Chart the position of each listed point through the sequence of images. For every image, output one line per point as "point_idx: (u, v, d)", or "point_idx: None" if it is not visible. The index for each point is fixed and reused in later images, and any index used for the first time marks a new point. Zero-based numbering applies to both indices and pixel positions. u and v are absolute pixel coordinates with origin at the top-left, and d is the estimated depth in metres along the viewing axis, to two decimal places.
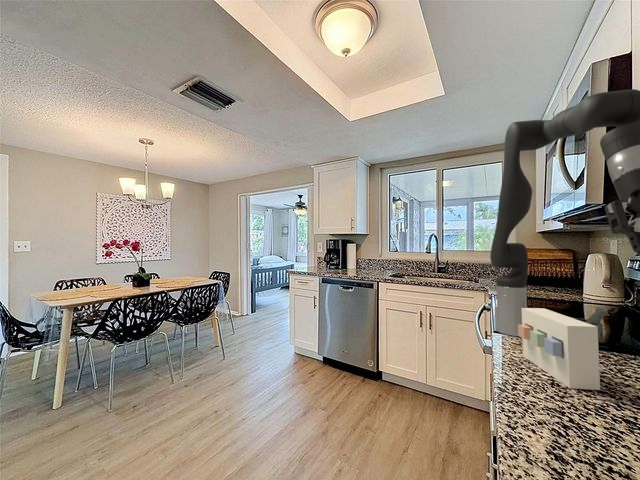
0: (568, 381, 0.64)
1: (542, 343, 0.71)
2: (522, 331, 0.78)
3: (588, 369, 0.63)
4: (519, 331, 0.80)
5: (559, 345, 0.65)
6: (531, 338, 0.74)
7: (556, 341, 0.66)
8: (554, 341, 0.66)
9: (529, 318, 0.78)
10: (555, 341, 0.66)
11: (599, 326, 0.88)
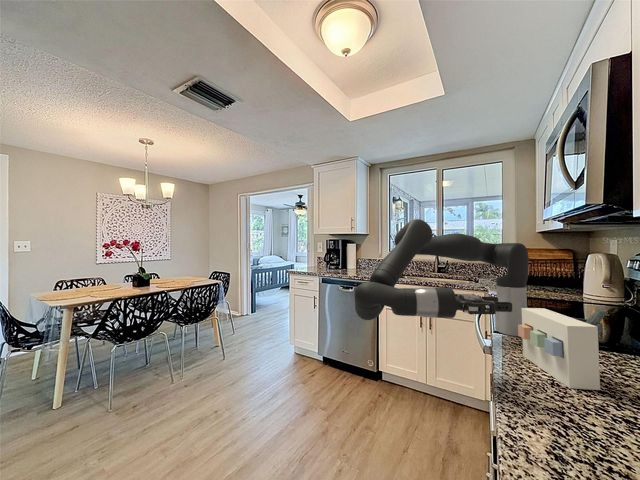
0: (568, 381, 0.64)
1: (542, 343, 0.71)
2: (522, 331, 0.78)
3: (588, 369, 0.63)
4: (519, 331, 0.80)
5: (559, 345, 0.65)
6: (531, 338, 0.74)
7: (556, 341, 0.66)
8: (554, 341, 0.66)
9: (529, 318, 0.78)
10: (555, 341, 0.66)
11: (599, 326, 0.88)
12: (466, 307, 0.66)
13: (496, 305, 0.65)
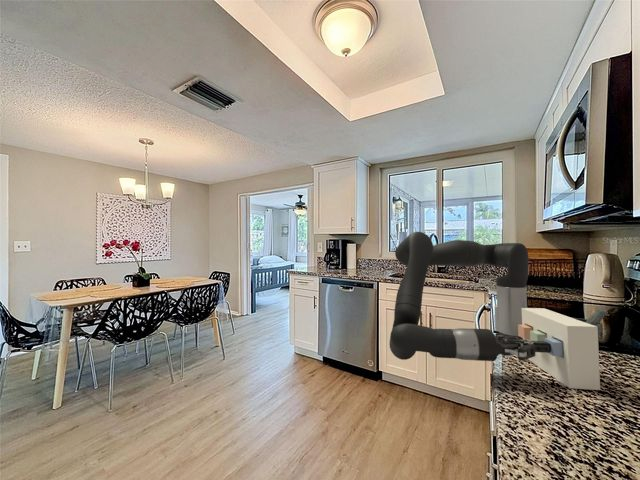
0: (568, 381, 0.64)
1: None
2: (522, 331, 0.78)
3: (588, 369, 0.63)
4: (519, 331, 0.80)
5: (559, 345, 0.65)
6: (531, 338, 0.74)
7: (556, 341, 0.66)
8: (554, 341, 0.66)
9: (529, 318, 0.78)
10: (555, 341, 0.66)
11: (599, 326, 0.88)
12: (513, 352, 0.64)
13: (535, 346, 0.66)
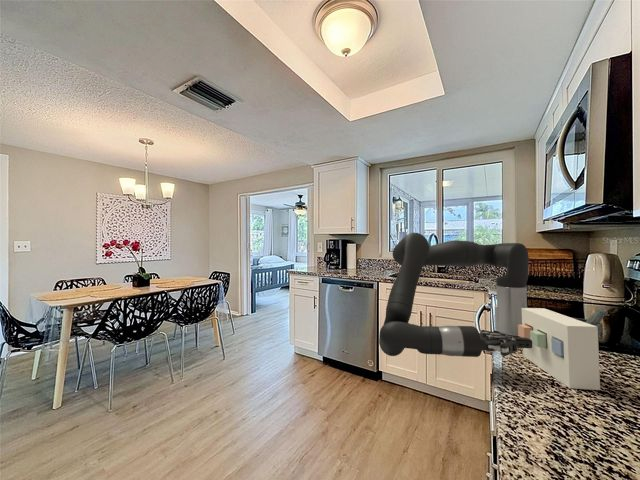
0: (568, 381, 0.64)
1: (542, 343, 0.71)
2: (522, 331, 0.78)
3: (588, 369, 0.63)
4: (519, 331, 0.80)
5: None
6: (531, 338, 0.74)
7: None
8: (561, 341, 0.66)
9: (529, 318, 0.78)
10: None
11: (599, 326, 0.88)
12: (496, 348, 0.67)
13: (517, 342, 0.69)
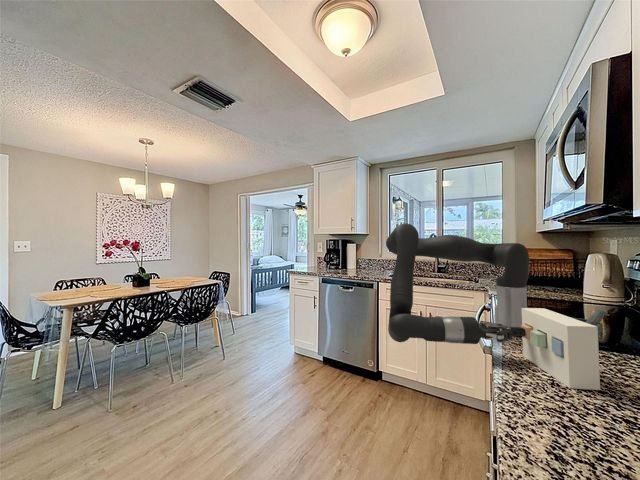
0: (568, 381, 0.64)
1: (542, 343, 0.71)
2: (525, 331, 0.78)
3: (588, 369, 0.63)
4: None
5: None
6: (531, 338, 0.74)
7: None
8: (561, 341, 0.66)
9: (529, 318, 0.78)
10: None
11: (599, 326, 0.88)
12: (493, 336, 0.76)
13: (512, 331, 0.78)
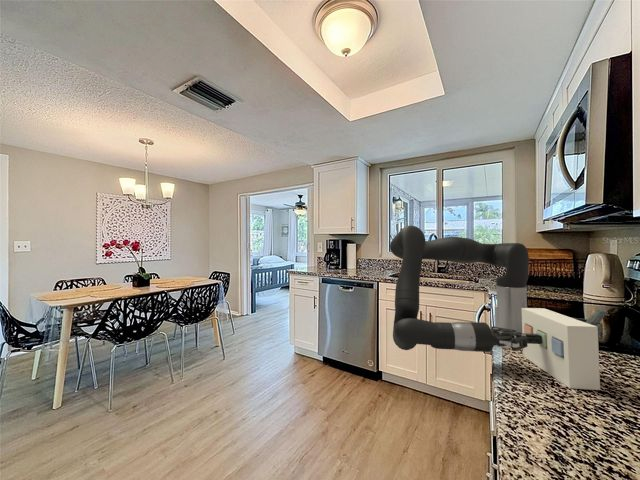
0: (568, 381, 0.64)
1: None
2: (528, 331, 0.78)
3: (588, 369, 0.63)
4: (525, 331, 0.80)
5: None
6: None
7: None
8: (561, 341, 0.66)
9: (529, 318, 0.78)
10: None
11: (599, 326, 0.88)
12: (507, 343, 0.70)
13: (527, 338, 0.72)
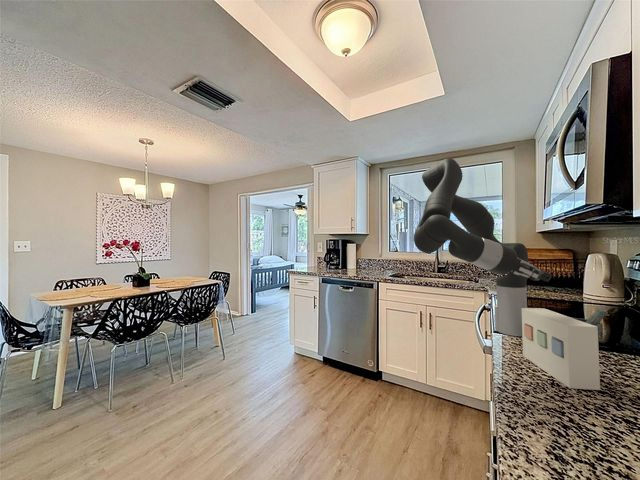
0: (568, 381, 0.64)
1: None
2: (528, 331, 0.78)
3: (588, 369, 0.63)
4: (525, 331, 0.80)
5: None
6: (538, 338, 0.74)
7: None
8: (561, 341, 0.66)
9: (529, 318, 0.78)
10: None
11: (599, 326, 0.88)
12: (527, 272, 0.69)
13: None
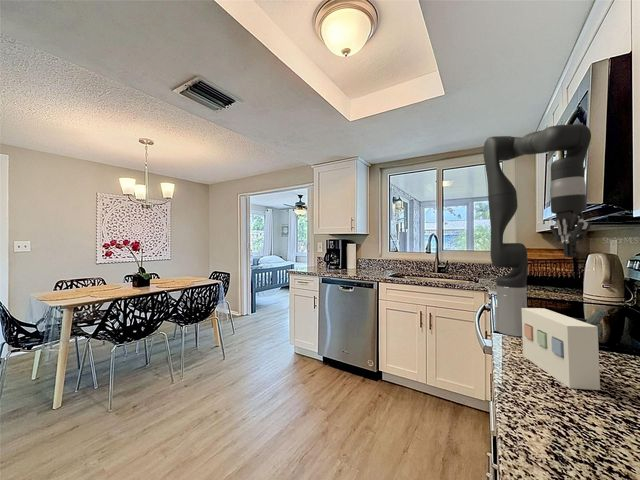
0: (568, 381, 0.64)
1: None
2: (528, 331, 0.78)
3: (588, 369, 0.63)
4: (525, 331, 0.80)
5: None
6: (538, 338, 0.74)
7: None
8: (561, 341, 0.66)
9: (529, 318, 0.78)
10: None
11: (599, 326, 0.88)
12: (581, 220, 0.74)
13: (575, 243, 0.77)
